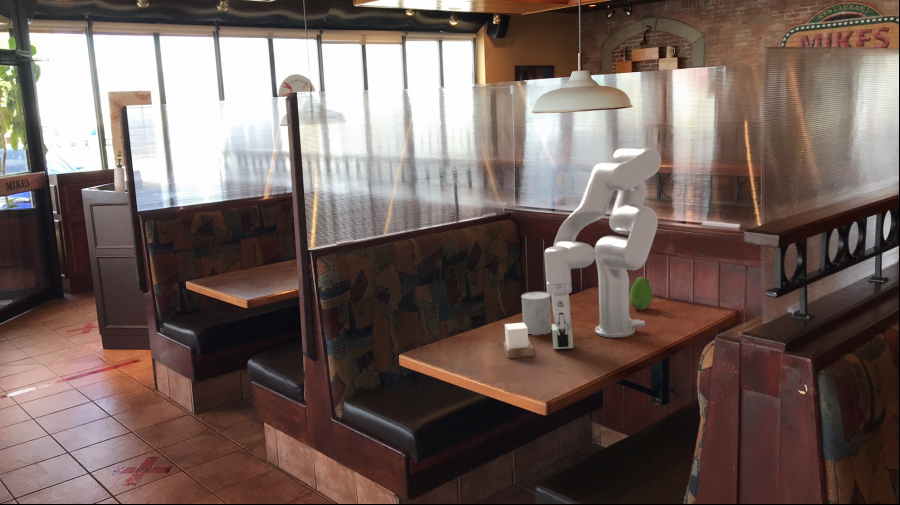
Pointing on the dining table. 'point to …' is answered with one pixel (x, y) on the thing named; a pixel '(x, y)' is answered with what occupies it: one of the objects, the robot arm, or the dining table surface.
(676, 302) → the dining table surface
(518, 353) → the walnut slab
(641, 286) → the avocado
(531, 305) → the grey marble cylinder
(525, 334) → the tower cube
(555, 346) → the sage block
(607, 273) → the robot arm
